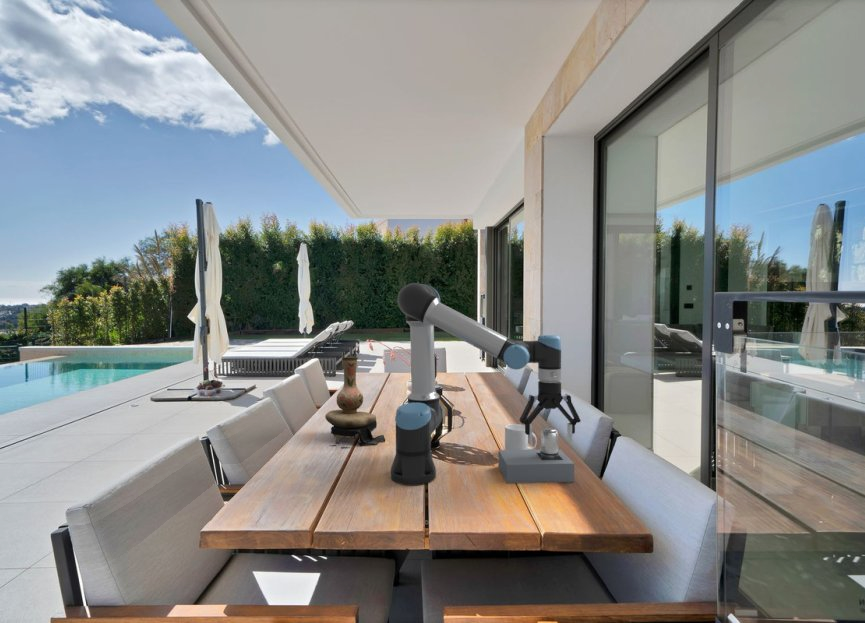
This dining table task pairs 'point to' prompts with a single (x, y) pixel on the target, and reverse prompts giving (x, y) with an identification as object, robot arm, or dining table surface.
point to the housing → (534, 467)
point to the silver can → (549, 444)
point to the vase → (352, 410)
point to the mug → (517, 438)
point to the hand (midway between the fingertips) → (549, 443)
